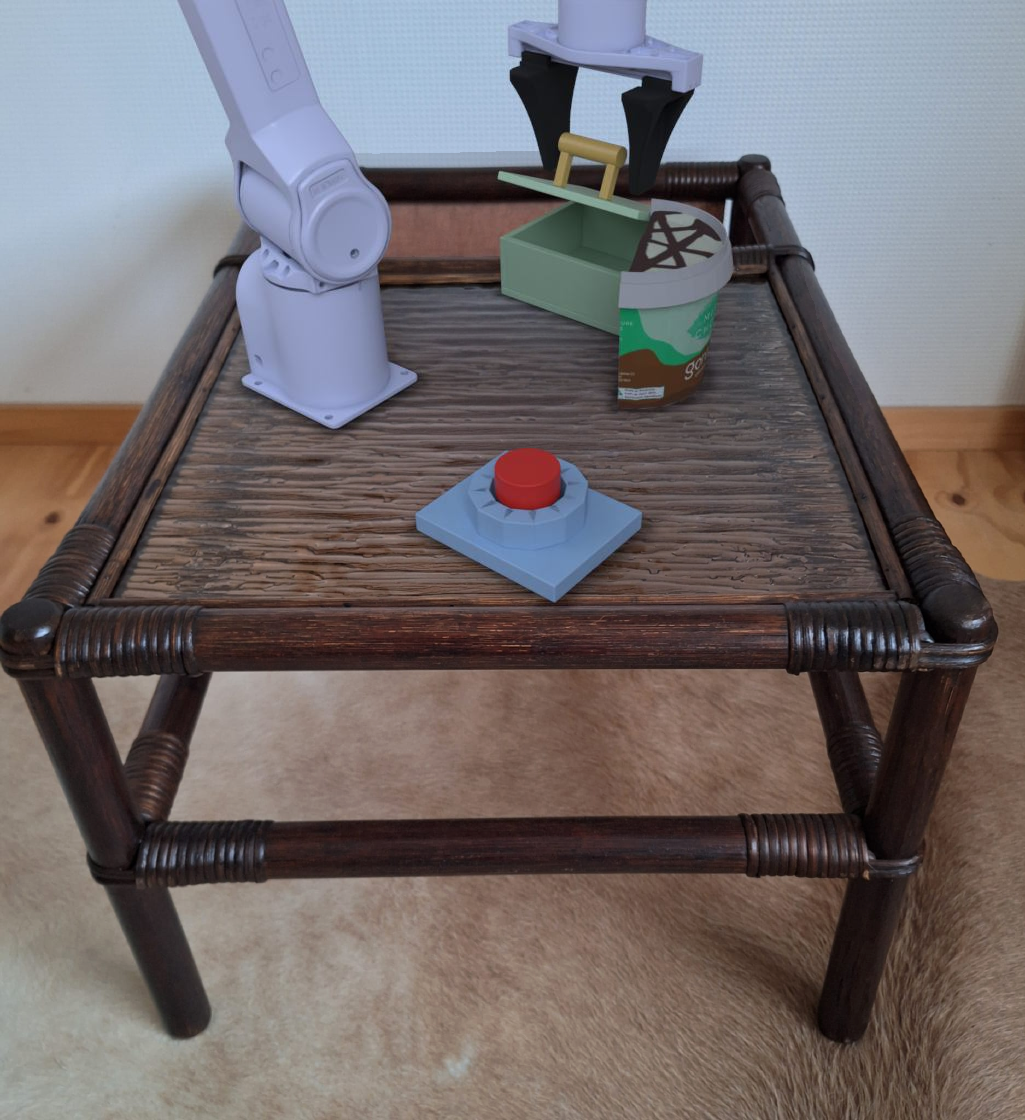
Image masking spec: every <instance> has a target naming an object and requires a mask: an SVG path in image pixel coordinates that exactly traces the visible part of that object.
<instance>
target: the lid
mask: <svg viewBox="0 0 1025 1120" xmlns="http://www.w3.org/2000/svg"><path fill="white" fill-rule="evenodd" d="M558 148H559V151H560V152H561V153H560V158H559V162H558V166H557V168H556V170H555V175H554V179H553V180H551V179H550V180H549V179H544V178H540V177H534V176H529V175H524V174H518V173H514V172H509V171H502V170H499V171H498V175H497V180H498V181H502V182H504V183H505V182H506V183H508V184H512V185H516V186H519V187H523V188H527V189H530V190H533V191H536V192H540V193H543V194H546V195H550V196H554V197H558V198H559V199H564V200H566V201H574V202H577V203H581V204H584V205H588V206H591V207H595V208H598V209H601V210H605V211H608V212H612V213H615V214H619V215H622V216H626V217H629V218H632V219H636V220H642V221H648V222H649V221H650V215H651V204H646V203H643V202H639V201H635V200H632V199H628V198H625V197H621V196H618V195H615V194H614V192H615V187H616V183H617V179H618V176H619V172H620V168H623V167H624V166H625V164H626V162H627V159H628V149H627V147H626V146H624V145H619V144H615V143H611V142H607V141H603V140H600V139H595V138H591V137H587V136H583V135H581V134H580V135H579V134H575V133H571V132H570V133H568V132H565V133H563V134H562V135H561V137H560V139H559V142H558ZM574 157H575V158H580V159H584V160H587V161H591V162H595V163H598V164H602V165H603V164H604V165H606V167H605V171H604V174H603V178H602V182H601V187H600V190H597V189H593V188H589V187H586V186H583V185H582V186H581V185H577V184H571V183H568V182H569V181H568V180H569V176H570V172H571V169H572V163H573V160H574Z"/></svg>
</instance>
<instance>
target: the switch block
mask: <svg viewBox="0 0 1025 1120" xmlns="http://www.w3.org/2000/svg"><path fill="white" fill-rule="evenodd" d="M509 451H510V450H504V451H502V452H501V453H500V454H498V455H497V456H495V457H494V458H493V459H491V460H490V461H488V462H487V463H486V464H484V465H482V466H481V467H479V468H478V469H477V470H475V471H474V472H473V473H471V474H469V475H468V476H467V477H465V478H464V479H463V480H461V481H460V482H458V483H457V484H455V485H454V486H453V487H451V488H449V489H448V490H447V491H445V492H444V493H443V494H441V495H440V496H438V497H437V498H435V499H433V500H432V502H430V503H429V504H427V505H426V506H424V507H423V508H421V509H420V510H418V511H417V512H416V513H414V514H415V515H414V516H415V526H416V530H417V531H418V532H419V533H422V534H424V535H426V536H428V537H429V538H431V539H434V540H435V541H436V542H439V543H440V544H443V545H445V546H447V547H448V548H450V549H452V550H454V551H456V552H458V553H460V554H462V555H463V556H465V557H467V558H470V559H471V560H473V561H475V562H477V563H478V564H480V565H482V566H484V567H486V568H488V569H490V570H492V571H494V572H495V573H497V574H500V575H501V576H503V577H505V578H507V579H509V580H511V581H512V582H514V583H515V584H518V585H519V586H522V587H524V588H526V589H527V590H529V591H531V592H533V593H535V594H536V595H539V596H541V597H542V598H544V599H546V600H548V601H550V602H552V603H554V604H555V603H556V602H558V601H559V600H560V599H561V598H562V597H563V596H564V595H566V594H567V593H568V592H569V591H570V590H571V589H573V588H574V587H576V585H577V584H579V582H581V581H582V580H583V579H584V578H586V577H587V575H589V574H590V573H591V572H592V571H594V570H595V569H596V568H597V567H598V566H599V565H601V564H602V563H603V562H604V561H605V560H606V559H607V558H609V557H610V556H611V555H612V554H613V553H614V552H615V551H616V550H618V549H619V548H620V547H622V545H624V544H625V543H626V542H627V541H628V540H629V539H630V538H631V537H633V536H634V535H635V534H637V532H639V531H640V530H641V529H642V523H643V522H642V521H643V512H642V511H641V510H639V509H637V508H634V507H632V506H630V505H628V504H626V503H624V502H621V501H619V500H617V499H614V498H612V497H611V496H608V495H606V494H604V493H602V492H599V491H597V490H594V489H592V488H590V487H589V482H588V480H587V478H586V477H585V476H584V474H583V473H582V472H581V470H580V469H579V468H578V466H577V465H575V464H573V463H570V462H569V461H567V460H564V459H562V458H560V457H557V456H555V457H556V458H557V459H558V461H559V462H560V466H561V492H560V496H559V498H558V499H557V501H556V502H555V503H554V504H552V505H551V506H549V507H545V508H541V509H537V510H533V511H532V510H520V509H510V508H508V507H506V506H504V505H503V504H502V503H500V502H499V500H498V499H497V497H496V494H495V473H494V467H495V463H496V461H497V460H498V459H499V458H500V457H501V456H502V455H504V454H505V453H507V452H509Z"/></svg>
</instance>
